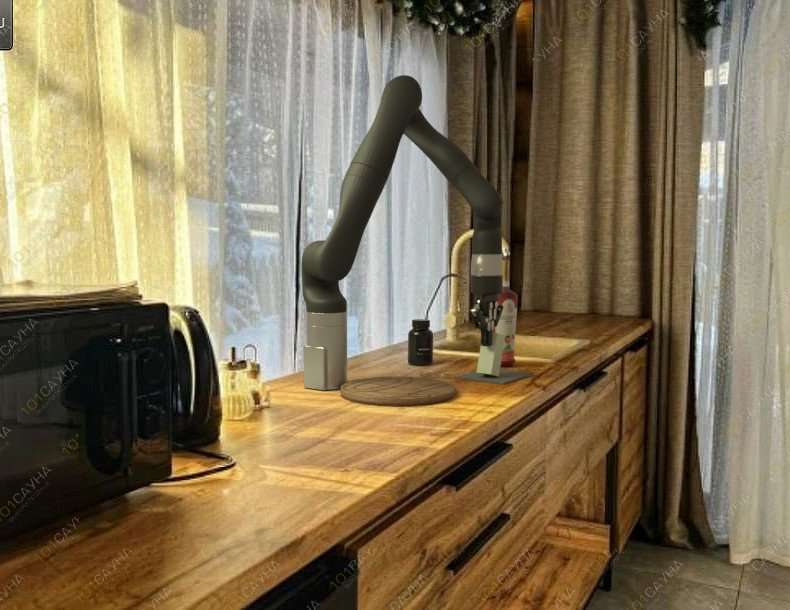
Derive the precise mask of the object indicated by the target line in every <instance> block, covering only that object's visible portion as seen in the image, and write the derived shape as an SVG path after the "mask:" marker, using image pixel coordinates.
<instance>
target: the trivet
mask: <svg viewBox="0 0 790 610" xmlns="http://www.w3.org/2000/svg"><path fill="white" fill-rule="evenodd" d="M455 396H456V386H455V385H454V384H453V383H451V382H448V381H445V380H442V379H441V380H440V379H435V378H429V377H419V376H377V377H374V376H373V377H365V378H359V379H354V380H351V381H347V383H345V384H343V385H342V386H341V388H340V397H341V398H342V399H343V400H345V401H348V402H351V403H356V404H359V405H364V406H375V407H387V408H388V407H393V408H397V407H399V408H400V407H401V408H402V407H404V408H405V407H407V408H409V407H421V406H423V407H424V406H431V405H436V404H441V403H444V402H445V403H446V402H448V401H451V400H452V399H454V397H455Z"/></svg>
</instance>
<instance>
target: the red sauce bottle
mask: <svg viewBox="0 0 790 610" xmlns="http://www.w3.org/2000/svg"><path fill="white" fill-rule="evenodd" d="M502 261H503V292H502V293H501V294H497V295H498V304H499V305H503V311H502V314H501V317H500V319H499V322H498V325H497V327H494V329H493V330H492V333H498V334H501V335H503V336H505V340H504V346H503V353H502V359H501V366H500V368H509V367H511V366H513V365H514V364H515V363H516V359H515V349H516V348H515V345H516V344H515V343H516V342H515V341H516V330H517V329H516V327H517V316H518V315H517V313H518V299H519V298H518V296H519V295H518V294H517V293H516V292H515V291H513V290H511V289H510V280H509V279H510V278H509V269H510V260H508V259H504V260H503V259H502Z"/></svg>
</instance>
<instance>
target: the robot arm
mask: <svg viewBox="0 0 790 610" xmlns="http://www.w3.org/2000/svg"><path fill="white" fill-rule="evenodd" d="M422 101H423V92H422V87H421V85H420V83H419V82H418V81H417V79H416V78H414V77H413V76H410V75H405V74H401V75H398V76H395V77H393V78H392V79H390V80H389V81H388V82H387V83H386V84H385V87H384V89H383V91H382V95H381V98H380V103H379V107H378V109H377V112H376V114H375V118H374V119H373V122H372V124H371V125H370V126H371V127H370V128H369V129H368V132H367V133H366V135H365V136H364V138H363V140H362V141H361V143H360V145H359V147H358V148H357V151H356V152H355V154H354V156H353V158H352V160H351V162H350V164H349V167H348V168H347V170H346V172H345V175H344V176H343V180H342V182H341V186H340V193H339V207H338V208H339V209H338V213H337V216H336V219H335V221H334V224H333V226H332V229H331V230H330V232H329V234H328V236H327V237H326V239H325V240H314V241H312V242H310V243H309V244H307V246H306V247H305V248H304V250H303V252H302V255H301V286H302V288H301V289H302V297H303V300H304V302H305V309H306V310H305V312H306V315H305V316H306V321H305V322H306V326H305V327H306V330H305V331H306V345H304V346H303V388H306V389H313V390H319V391H328V390H330V391H331V390H341V386H342V385H343V384H345V383H347V382H348V302H347V298H346V297H345V296H344V295H343V293H342V292H341V290H340V284H339V282H340V281H342V280H344V279H345V278H346V277H347V276H348V275H349V273H350V272H351V270H352V268H353V266H354V263H355V260H356V257H357V254H358V252H359V248H360V245H361V241H362V238H363V236H364V233H365V229H366V228H367V226H368V223H369V221H370V219H371V217H372V215H373V212H374V210H375V208H376V205H377V203H378V201H379V198H380V197H381V195H382V193H383V191H384V189H385V186H386V184H387V182H388V179H389V176H390V175H391V172H392V169H393V166H394V163H395V159H396V157H397V154H398V153H397V152H398V150H399V145H400V143H401V141H402V137H403V135H404V136H405V137H407V138H408V140H410V141H411V142H412V143H413V144H414V145H415V146H416V147H417V148H418V149H419V150H420V151H422V153H424V155H426V157H427V159H429V160H430V161H431V162H432V164H433V165H434V166H435V167H436V168H437V170H438V171H440V173H441V174H442V175H443V177H444V178H445V179H446V180H447V181H448V182H449V183H450V185H451V186H452V187H453V188H454V189H455V190H456V191H458V192H459V193H460V194H461V196H462V197H463V198H464V200H465V201H466V202H467V203H468V205H469V207H470V208H471V209H472V220H473V221H472V224H473V225H472V226H473V231H472V232H473V233H472V240H471V262H470V292H471V293H472V294H474V295H475V298H474V306H473V308H469V309H468V313H469V316H470V317H471V320H472V322H473V325H474V327H475V329H478V330H479V331H480V346H481V345H482V346H491V345H492V330H493V329H494V327H497V325H498V322H499V319H500V317H501V314H502V311H503V305H499V304H498V295H497V294H501V293H502V292H503V261H502V260H503V235H502V231H501V230H502V212H503V205H504V204H503V203H504V202H503V197H502V195H501V194H500V192H499V191H498V190H497V189H496V188H495V187H494V186H493V185H492V184H491V182H490V181H488V179H487V178H485V177H484V175H483V174H481V173H480V171H479V169H478V168H477V166H476V165H475V164H474V163H473V162H472V160H471V159H470V158H469V157H468V156H467V154H466V153H465V152H464V151H463V150H462V149H461V148H460V146H459V145H457V144H456V143H454V141H452V140H451V139H449V138H448V137H446V136H445V135H443V134H442V133H441V132H439V131H438V130H437V129H436V128H435V127H434V126H432V124H431V123H430V122H429V121H428V120H427V118H426V117H425V116H424V113H423V112H422V111H421V109H420V107H421V106H422Z"/></svg>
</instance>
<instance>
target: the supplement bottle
mask: <svg viewBox="0 0 790 610" xmlns="http://www.w3.org/2000/svg"><path fill="white" fill-rule="evenodd" d="M411 327H412V328H411V329H410V330H409V331H408V333H407V363H408V365H410V366H414V367H415V366H418V367H425V366H426V367H427V366H431V365H433V361H434V331H432V330H431V329H430V328H431V320H430V319H424V318H421V319H420V318H417V319H415V318H413V319H412V320H411Z"/></svg>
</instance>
